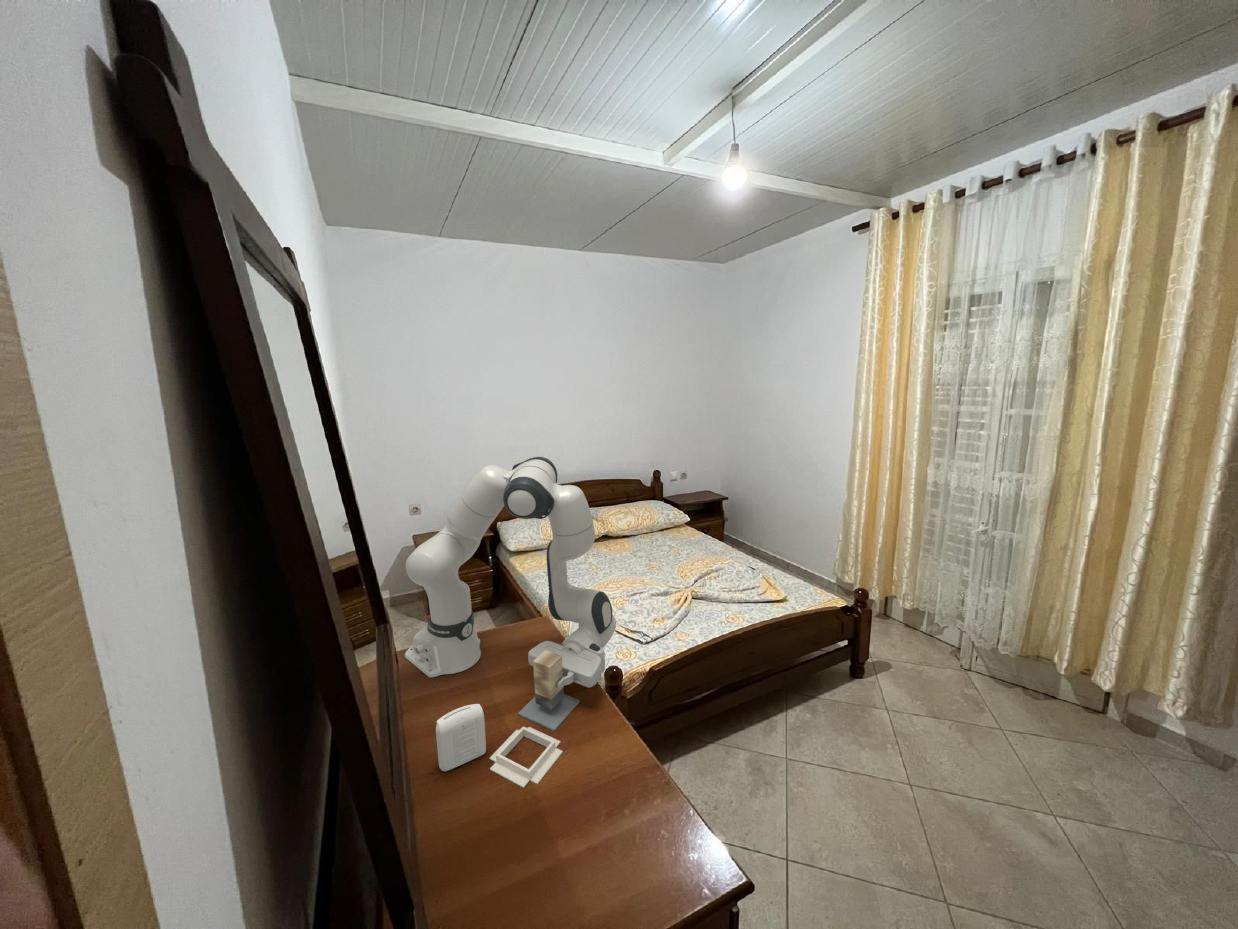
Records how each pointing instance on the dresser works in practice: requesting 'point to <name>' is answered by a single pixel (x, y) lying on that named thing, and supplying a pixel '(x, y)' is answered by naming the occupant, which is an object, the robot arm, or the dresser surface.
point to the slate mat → (549, 712)
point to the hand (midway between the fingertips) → (546, 681)
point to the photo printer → (460, 736)
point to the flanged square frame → (519, 772)
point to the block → (548, 679)
